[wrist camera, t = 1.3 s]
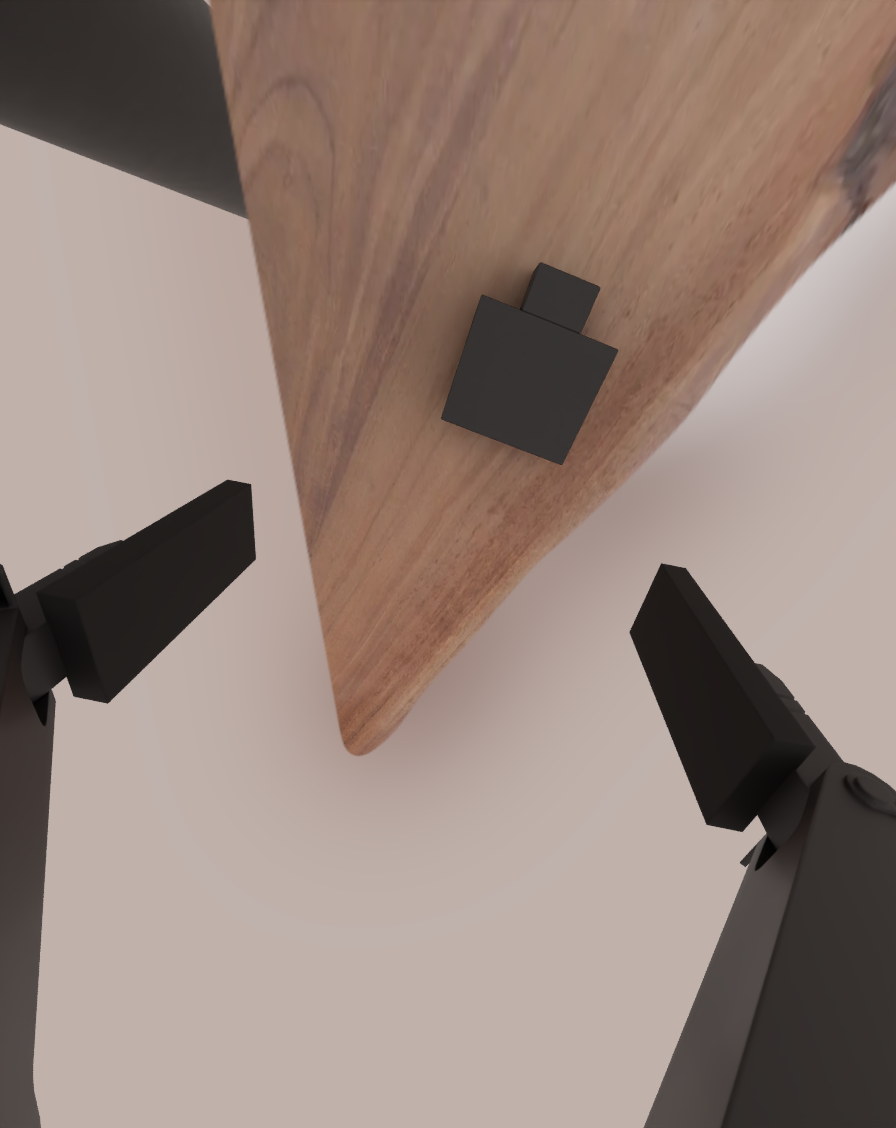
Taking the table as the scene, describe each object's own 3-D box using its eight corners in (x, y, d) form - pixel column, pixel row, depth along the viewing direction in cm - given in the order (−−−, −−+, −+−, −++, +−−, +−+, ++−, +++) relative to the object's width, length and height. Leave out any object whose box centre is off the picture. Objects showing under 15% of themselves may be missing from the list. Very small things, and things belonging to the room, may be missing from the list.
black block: (448, 406, 27) (440, 419, 24) (498, 255, 23) (498, 244, 20) (554, 446, 28) (562, 465, 24) (621, 305, 24) (641, 303, 20)
